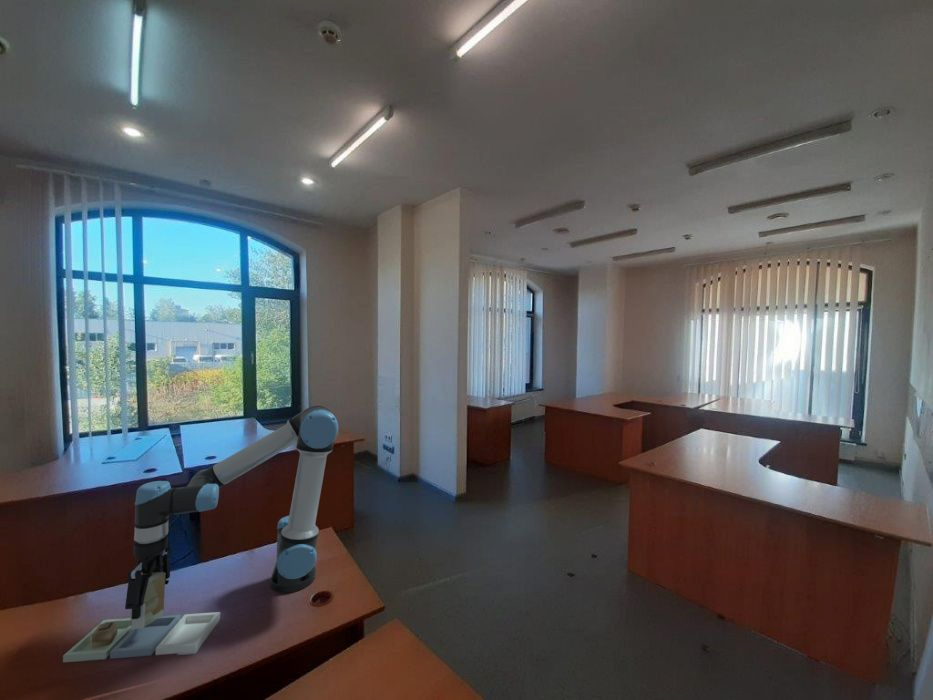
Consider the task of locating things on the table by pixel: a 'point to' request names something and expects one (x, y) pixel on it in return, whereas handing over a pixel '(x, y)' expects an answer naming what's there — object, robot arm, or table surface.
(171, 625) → the tray
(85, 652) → the tray
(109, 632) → the letter cube
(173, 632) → the tray
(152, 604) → the skincare box
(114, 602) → the table surface
